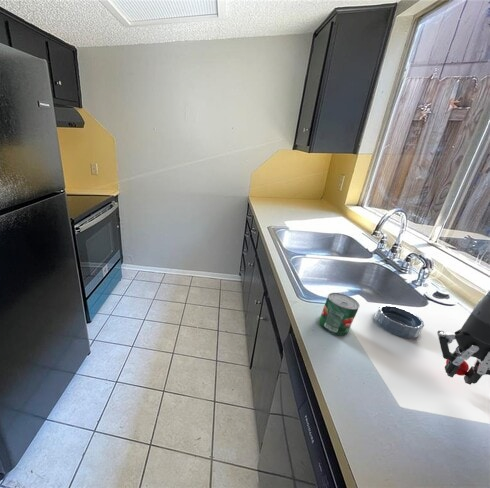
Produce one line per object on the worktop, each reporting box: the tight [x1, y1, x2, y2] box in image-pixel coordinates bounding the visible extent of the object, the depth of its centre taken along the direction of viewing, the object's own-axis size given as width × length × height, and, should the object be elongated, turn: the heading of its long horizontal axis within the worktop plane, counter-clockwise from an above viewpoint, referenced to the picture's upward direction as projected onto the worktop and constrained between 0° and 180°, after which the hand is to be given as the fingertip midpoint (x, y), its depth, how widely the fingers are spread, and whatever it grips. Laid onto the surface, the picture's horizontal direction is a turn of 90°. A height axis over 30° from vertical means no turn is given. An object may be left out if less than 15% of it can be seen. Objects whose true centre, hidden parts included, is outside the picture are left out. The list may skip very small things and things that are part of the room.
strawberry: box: [445, 359, 470, 377], centre depth 61 cm, size 4×4×4 cm
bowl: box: [373, 304, 425, 339], centre depth 80 cm, size 11×11×5 cm
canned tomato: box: [318, 292, 360, 337], centre depth 77 cm, size 8×8×11 cm
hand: (457, 377), depth 60 cm, fingers closed on strawberry, 2 cm apart
